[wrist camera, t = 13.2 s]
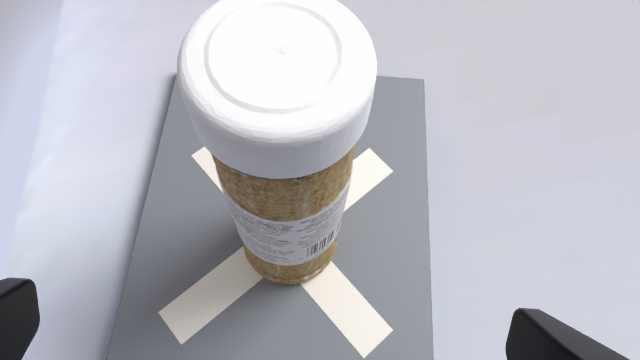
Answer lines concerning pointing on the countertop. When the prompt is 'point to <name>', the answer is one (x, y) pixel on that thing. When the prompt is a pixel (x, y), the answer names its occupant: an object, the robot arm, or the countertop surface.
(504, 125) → the countertop surface
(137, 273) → the board
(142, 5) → the countertop surface
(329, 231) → the sprinkles bottle
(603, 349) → the robot arm
